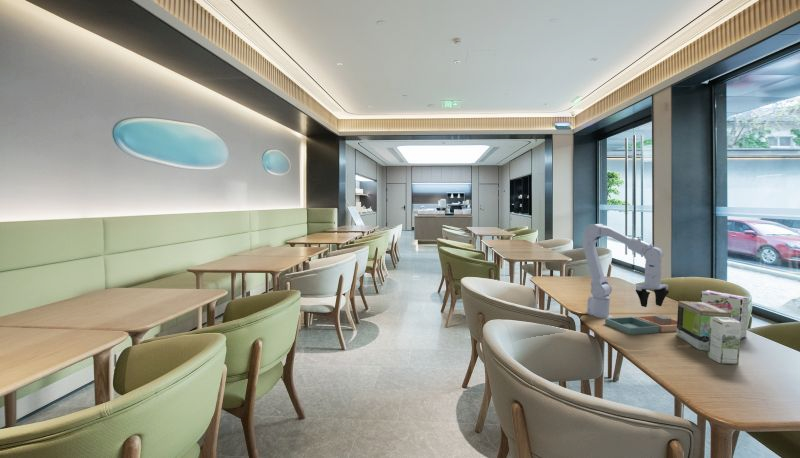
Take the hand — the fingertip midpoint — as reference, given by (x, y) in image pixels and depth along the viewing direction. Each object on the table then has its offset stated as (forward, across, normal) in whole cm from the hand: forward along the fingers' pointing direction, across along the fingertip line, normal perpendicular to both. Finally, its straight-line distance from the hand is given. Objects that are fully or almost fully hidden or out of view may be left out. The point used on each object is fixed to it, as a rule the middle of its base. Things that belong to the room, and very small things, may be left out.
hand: (651, 306), depth 156 cm
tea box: (+9, +2, -21) cm, 23 cm away
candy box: (+9, +22, -13) cm, 27 cm away
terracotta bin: (+9, +4, -2) cm, 10 cm away
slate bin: (+9, -11, -2) cm, 15 cm away
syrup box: (+9, -6, -35) cm, 36 cm away
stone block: (+8, +4, -2) cm, 9 cm away
